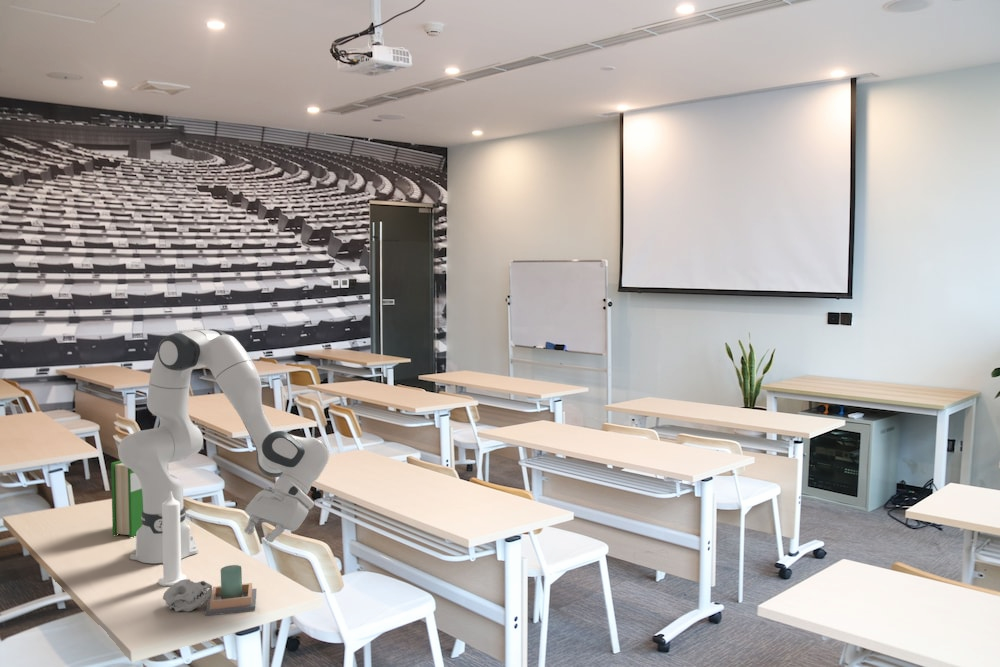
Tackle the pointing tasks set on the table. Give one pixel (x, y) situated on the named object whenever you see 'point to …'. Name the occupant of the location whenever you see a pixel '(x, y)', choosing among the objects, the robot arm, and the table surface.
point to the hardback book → (126, 500)
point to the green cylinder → (231, 582)
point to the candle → (171, 542)
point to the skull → (187, 595)
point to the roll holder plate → (231, 601)
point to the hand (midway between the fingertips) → (257, 537)
